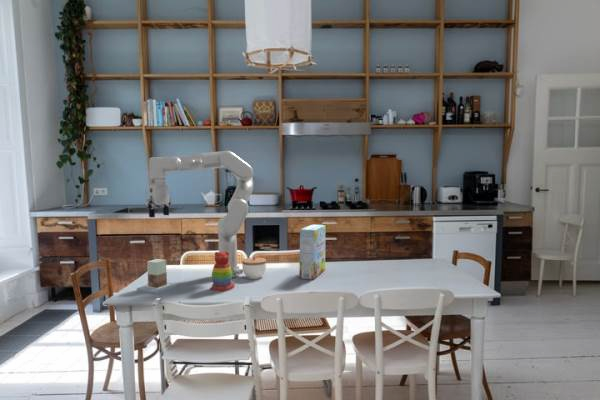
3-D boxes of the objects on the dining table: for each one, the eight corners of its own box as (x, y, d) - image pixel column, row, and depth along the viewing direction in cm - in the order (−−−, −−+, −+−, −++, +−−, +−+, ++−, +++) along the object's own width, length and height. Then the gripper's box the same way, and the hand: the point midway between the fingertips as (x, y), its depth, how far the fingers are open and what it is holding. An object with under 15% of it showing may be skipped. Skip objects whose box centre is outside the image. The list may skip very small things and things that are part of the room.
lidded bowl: (262, 281, 213) (262, 259, 212) (238, 279, 216) (238, 258, 215) (269, 274, 225) (269, 254, 225) (246, 273, 228) (246, 253, 227)
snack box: (315, 280, 213) (314, 229, 211) (298, 279, 216) (298, 229, 214) (326, 270, 234) (326, 224, 232) (311, 269, 236) (311, 223, 234)
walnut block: (166, 284, 203) (166, 272, 203) (157, 287, 198) (157, 275, 197) (157, 283, 206) (157, 271, 205) (148, 286, 200) (147, 274, 200)
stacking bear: (235, 285, 205) (234, 249, 204) (232, 291, 195) (231, 253, 194) (212, 285, 205) (211, 249, 204) (209, 292, 195) (208, 253, 194)
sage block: (166, 272, 203) (165, 260, 202) (157, 275, 197) (156, 262, 197) (156, 271, 205) (156, 258, 205) (147, 273, 200) (147, 261, 200)
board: (177, 285, 206) (177, 283, 205) (156, 293, 193) (156, 290, 193) (158, 283, 211) (158, 280, 211) (136, 290, 198) (136, 288, 198)
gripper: (150, 182, 201) (152, 218, 202) (175, 181, 216) (177, 214, 218) (139, 182, 204) (140, 217, 205) (164, 181, 219) (165, 214, 221)
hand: (159, 216), depth 211 cm, fingers open, 9 cm apart
